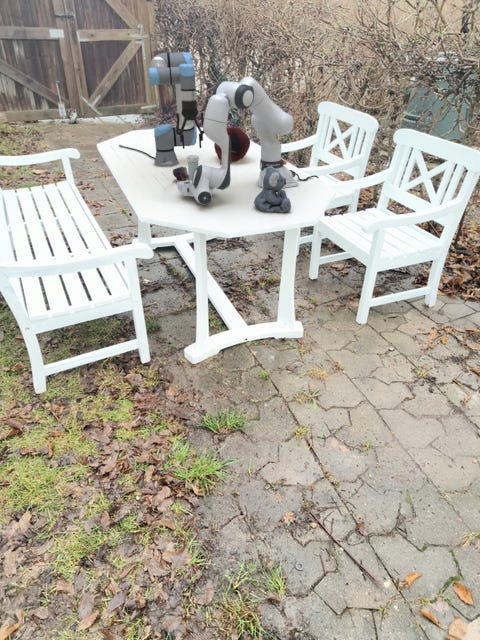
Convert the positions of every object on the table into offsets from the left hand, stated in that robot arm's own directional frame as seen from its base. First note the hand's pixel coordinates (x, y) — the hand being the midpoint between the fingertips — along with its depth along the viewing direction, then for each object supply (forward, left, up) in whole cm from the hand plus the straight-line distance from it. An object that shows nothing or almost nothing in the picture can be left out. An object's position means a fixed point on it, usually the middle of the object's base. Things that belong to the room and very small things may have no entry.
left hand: (192, 147), depth 235 cm
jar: (0, 0, -23) cm, 23 cm away
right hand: (-1, 0, -17) cm, 17 cm away
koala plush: (+48, +9, -23) cm, 54 cm away
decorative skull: (-28, +60, -23) cm, 70 cm away
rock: (-20, +8, -23) cm, 31 cm away
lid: (0, 0, -5) cm, 5 cm away
